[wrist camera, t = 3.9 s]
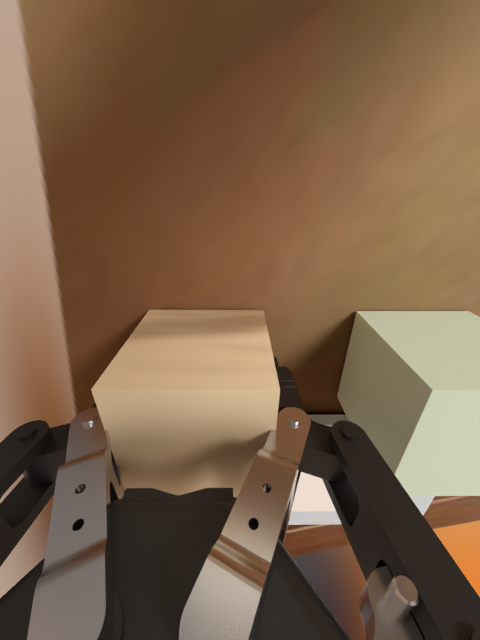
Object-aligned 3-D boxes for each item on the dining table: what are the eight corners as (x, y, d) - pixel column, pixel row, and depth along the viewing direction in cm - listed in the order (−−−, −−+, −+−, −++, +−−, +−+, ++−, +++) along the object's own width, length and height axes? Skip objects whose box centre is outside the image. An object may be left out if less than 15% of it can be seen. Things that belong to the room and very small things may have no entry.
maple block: (149, 309, 13) (90, 389, 8) (263, 309, 14) (280, 389, 8) (163, 396, 16) (127, 498, 11) (258, 395, 16) (269, 497, 11)
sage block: (356, 311, 14) (432, 389, 8) (468, 311, 14) (614, 389, 8) (336, 396, 16) (384, 496, 11) (430, 395, 16) (522, 495, 11)
